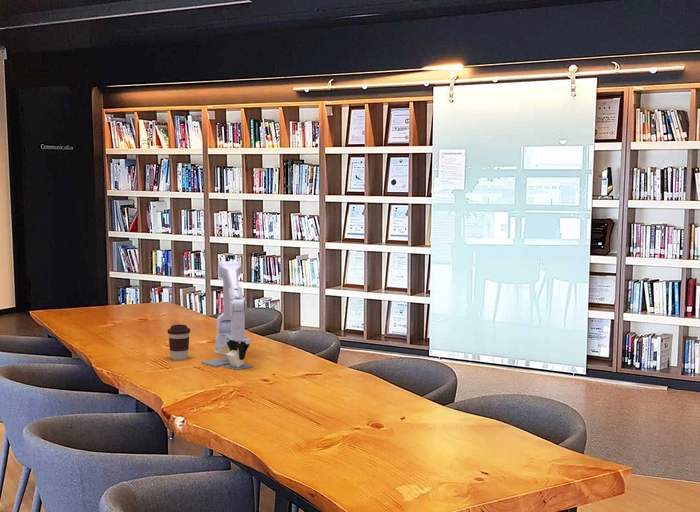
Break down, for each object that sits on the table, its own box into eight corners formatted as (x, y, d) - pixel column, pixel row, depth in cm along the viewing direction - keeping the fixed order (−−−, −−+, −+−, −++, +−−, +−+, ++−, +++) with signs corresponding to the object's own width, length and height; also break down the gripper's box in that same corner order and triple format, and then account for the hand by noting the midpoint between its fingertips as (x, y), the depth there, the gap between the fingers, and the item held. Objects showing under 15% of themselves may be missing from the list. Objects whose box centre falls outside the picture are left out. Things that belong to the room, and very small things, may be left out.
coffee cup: (193, 356, 347) (193, 324, 346) (186, 361, 337) (186, 327, 336) (172, 356, 348) (171, 323, 347) (164, 361, 338) (164, 327, 337)
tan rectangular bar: (219, 352, 333) (219, 348, 333) (237, 348, 342) (237, 344, 342) (223, 353, 332) (223, 349, 332) (241, 349, 341) (241, 345, 340)
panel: (201, 364, 332) (201, 353, 331) (226, 359, 342) (226, 349, 342) (215, 368, 325) (215, 357, 325) (241, 362, 336) (241, 352, 335)
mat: (223, 366, 327) (223, 366, 327) (239, 363, 334) (239, 362, 334) (236, 370, 321) (236, 369, 321) (253, 366, 328) (253, 365, 328)
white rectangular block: (226, 354, 326) (232, 349, 328) (231, 365, 328) (237, 361, 330) (232, 355, 322) (239, 351, 325) (237, 367, 325) (243, 363, 327)
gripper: (219, 326, 328) (219, 357, 329) (241, 330, 319) (241, 362, 320) (232, 324, 333) (232, 355, 334) (254, 328, 324) (254, 359, 325)
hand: (238, 358), depth 327 cm, fingers closed on white rectangular block, 4 cm apart
